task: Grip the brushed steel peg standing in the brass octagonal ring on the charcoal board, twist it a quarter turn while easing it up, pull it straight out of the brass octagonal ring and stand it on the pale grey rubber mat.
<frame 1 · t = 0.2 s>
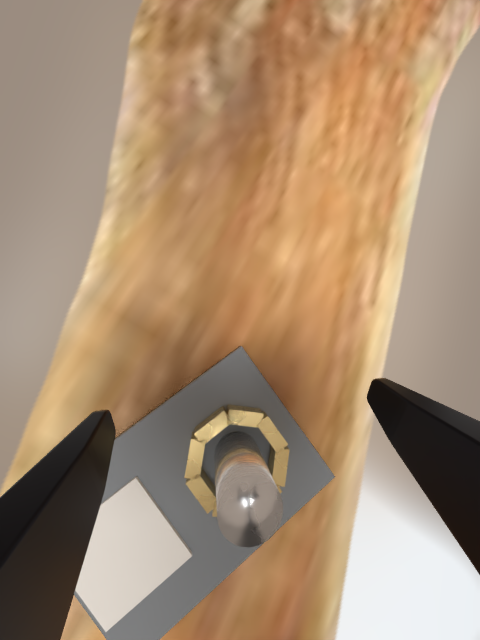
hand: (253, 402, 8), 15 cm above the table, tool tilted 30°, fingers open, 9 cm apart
brass octagonal ring: (237, 458, 20), on the board, point 1 cm above the table
peg: (242, 477, 17), in the brass octagonal ring, point 4 cm above the table, touching board
mat: (122, 549, 19), resting on board
board: (190, 486, 21), on the table
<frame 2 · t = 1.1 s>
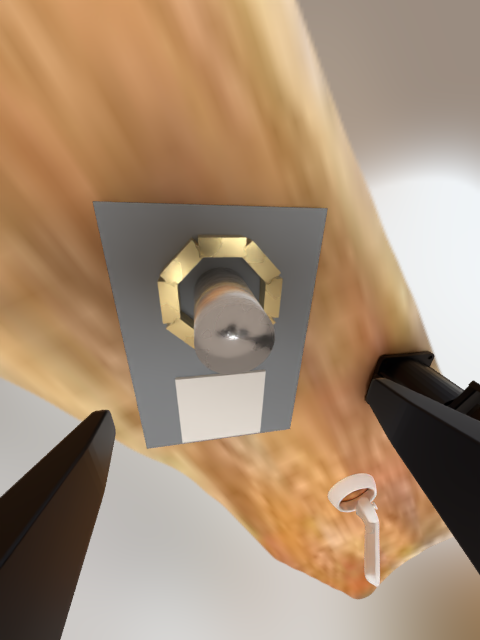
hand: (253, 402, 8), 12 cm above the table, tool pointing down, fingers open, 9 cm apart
brass octagonal ring: (221, 297, 17), on the board, point 1 cm above the table
peg: (226, 312, 15), in the brass octagonal ring, point 4 cm above the table, touching board
hook: (349, 487, 37), on the table
mat: (221, 406, 23), resting on board
board: (220, 343, 21), on the table
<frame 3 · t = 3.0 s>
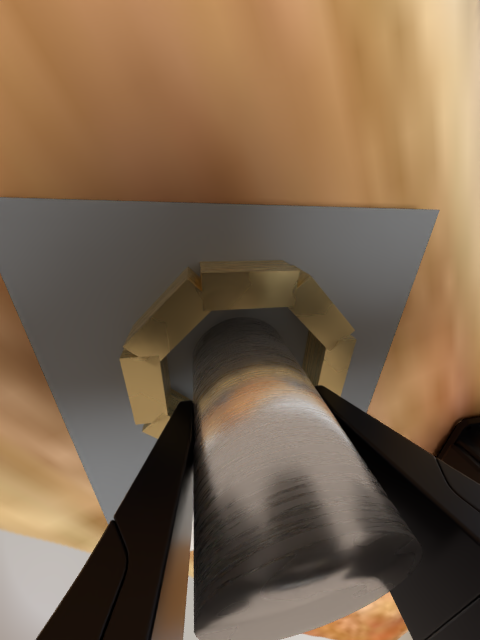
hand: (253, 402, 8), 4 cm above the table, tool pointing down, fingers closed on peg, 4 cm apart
brass octagonal ring: (243, 369, 10), on the board, point 1 cm above the table
peg: (260, 426, 7), in the brass octagonal ring, point 4 cm above the table, touching board, gripper
board: (234, 421, 13), on the table
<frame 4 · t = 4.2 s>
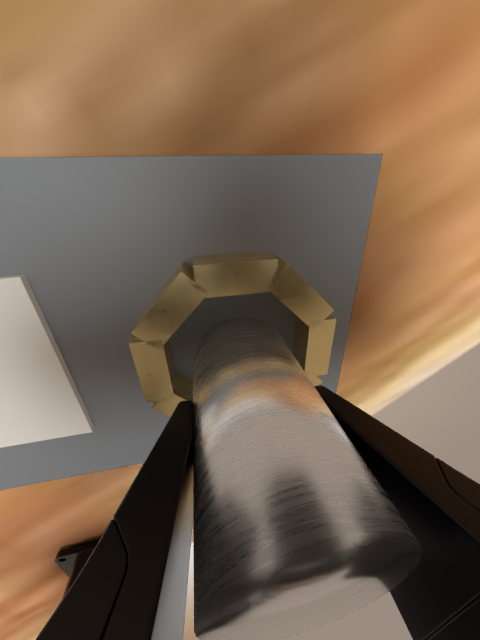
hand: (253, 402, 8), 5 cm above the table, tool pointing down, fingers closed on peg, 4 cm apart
brass octagonal ring: (237, 351, 11), on the board, point 1 cm above the table
peg: (260, 426, 7), point 6 cm above the table, touching gripper
board: (131, 344, 12), on the table
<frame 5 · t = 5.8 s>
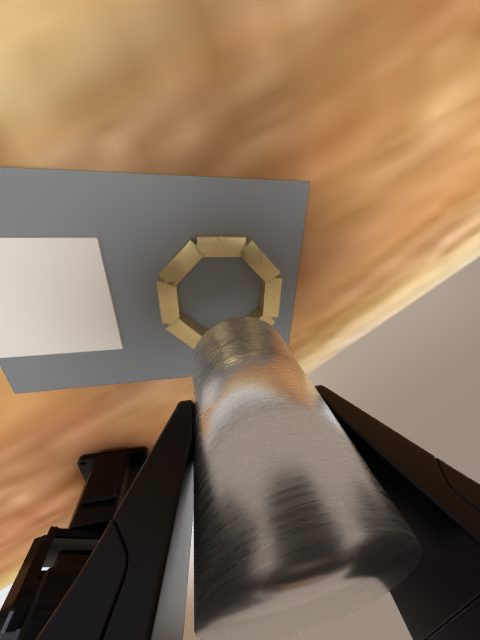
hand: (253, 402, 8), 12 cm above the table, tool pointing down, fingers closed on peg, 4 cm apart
brass octagonal ring: (221, 297, 17), on the board, point 1 cm above the table
peg: (260, 425, 7), point 13 cm above the table, touching gripper
mat: (47, 300, 16), resting on board
board: (152, 291, 18), on the table
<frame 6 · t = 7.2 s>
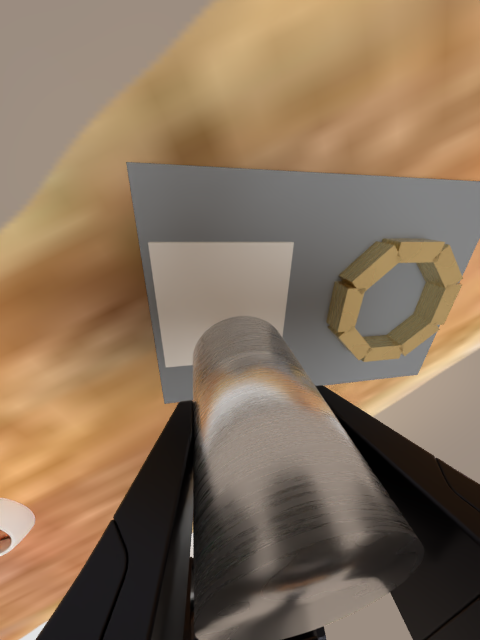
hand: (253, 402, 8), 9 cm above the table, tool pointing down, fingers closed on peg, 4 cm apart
brass octagonal ring: (391, 303, 16), on the board, point 1 cm above the table
peg: (260, 425, 7), point 10 cm above the table, touching gripper
mat: (224, 307, 15), resting on board
board: (312, 297, 17), on the table
when the fingers open (5 cm above the table, at t = 8.6 s): peg drops 1 cm, resting on mat.
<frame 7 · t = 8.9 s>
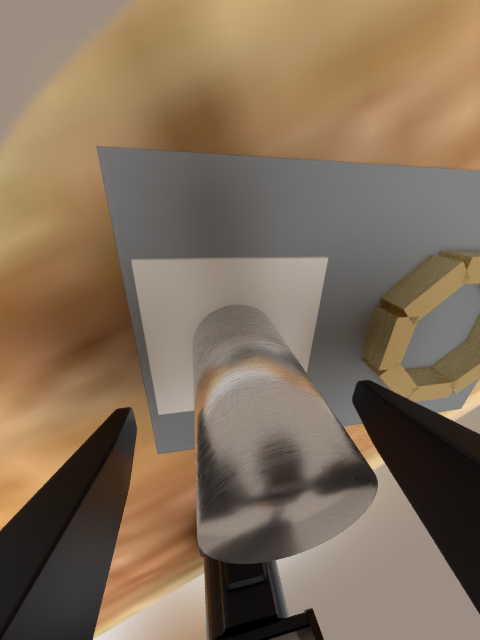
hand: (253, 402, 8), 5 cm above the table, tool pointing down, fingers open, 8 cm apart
brass octagonal ring: (444, 332, 13), on the board, point 1 cm above the table
peg: (253, 397, 8), point 5 cm above the table, touching mat
mat: (234, 340, 11), resting on board
board: (343, 323, 13), on the table
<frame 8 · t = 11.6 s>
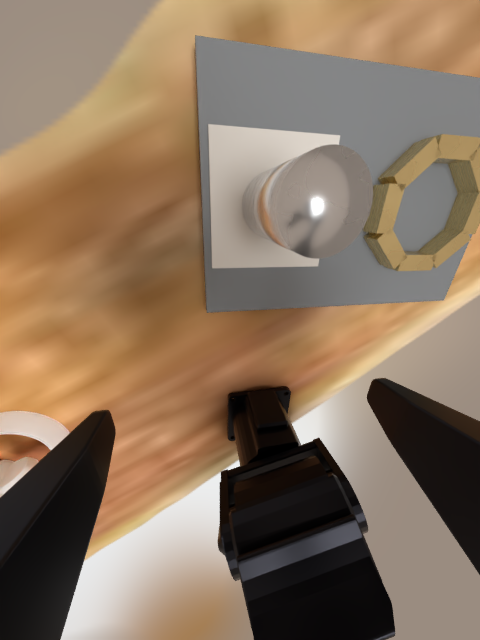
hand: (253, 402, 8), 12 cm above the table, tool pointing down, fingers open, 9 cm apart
brass octagonal ring: (426, 210, 17), on the board, point 1 cm above the table
peg: (292, 206, 12), point 5 cm above the table, touching mat
hook: (27, 438, 22), on the table
mat: (270, 206, 16), resting on board
board: (349, 208, 18), on the table
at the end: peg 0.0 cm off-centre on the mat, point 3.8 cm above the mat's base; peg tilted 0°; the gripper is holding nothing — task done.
